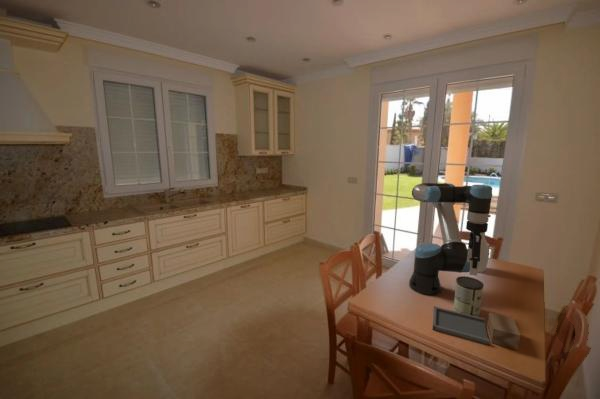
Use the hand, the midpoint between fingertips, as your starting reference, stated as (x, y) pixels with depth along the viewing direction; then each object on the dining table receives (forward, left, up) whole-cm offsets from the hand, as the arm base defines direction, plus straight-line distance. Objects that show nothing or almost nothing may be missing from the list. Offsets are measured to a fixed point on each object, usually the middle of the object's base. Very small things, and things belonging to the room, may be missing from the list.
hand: (471, 268), depth 117 cm
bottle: (+8, +50, -21) cm, 55 cm away
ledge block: (+11, -14, -21) cm, 27 cm away
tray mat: (-4, -14, -21) cm, 25 cm away
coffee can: (0, 0, -21) cm, 21 cm away
